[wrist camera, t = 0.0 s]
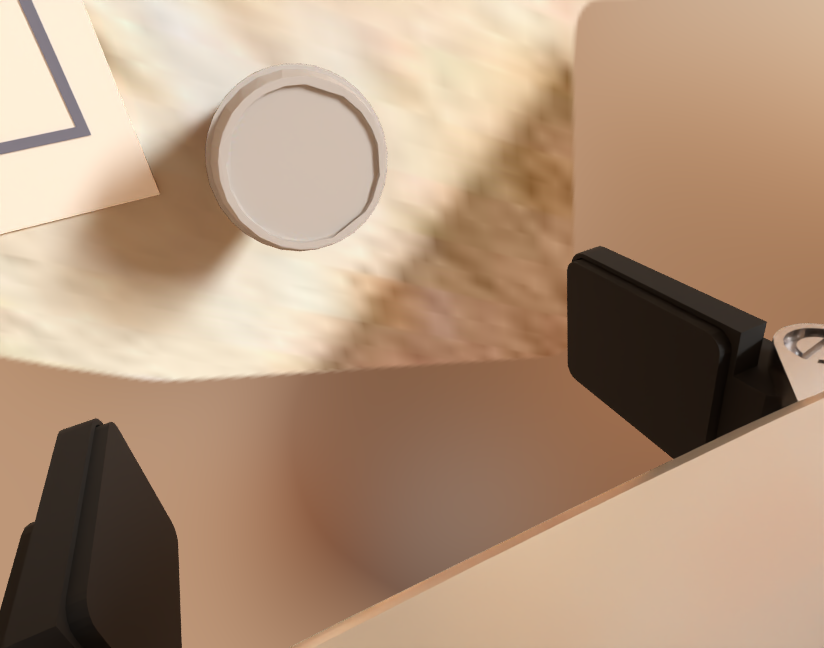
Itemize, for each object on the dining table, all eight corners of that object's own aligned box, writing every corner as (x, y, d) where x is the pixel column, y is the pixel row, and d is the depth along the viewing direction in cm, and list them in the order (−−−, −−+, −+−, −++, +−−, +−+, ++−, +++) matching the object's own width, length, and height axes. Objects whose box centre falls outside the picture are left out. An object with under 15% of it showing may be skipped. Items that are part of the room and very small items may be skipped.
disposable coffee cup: (212, 213, 38) (230, 273, 28) (177, 63, 33) (185, 72, 24) (342, 193, 41) (400, 241, 31) (327, 53, 36) (389, 57, 27)
